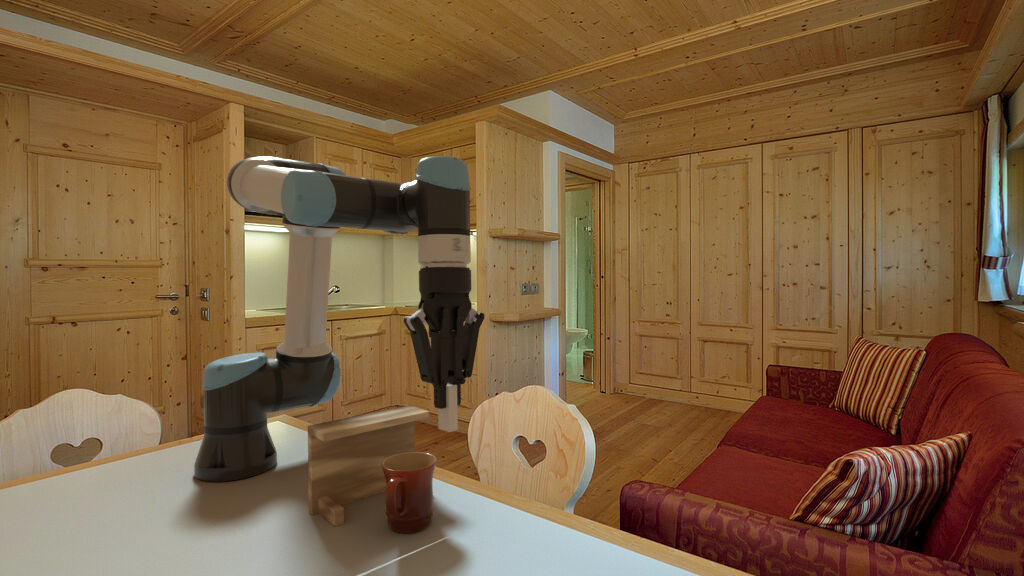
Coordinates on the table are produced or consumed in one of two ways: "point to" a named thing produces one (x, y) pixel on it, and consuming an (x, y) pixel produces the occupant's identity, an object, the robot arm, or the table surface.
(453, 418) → the robot arm
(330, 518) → the wooden standing sign
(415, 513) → the mug
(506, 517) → the table surface
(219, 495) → the table surface
